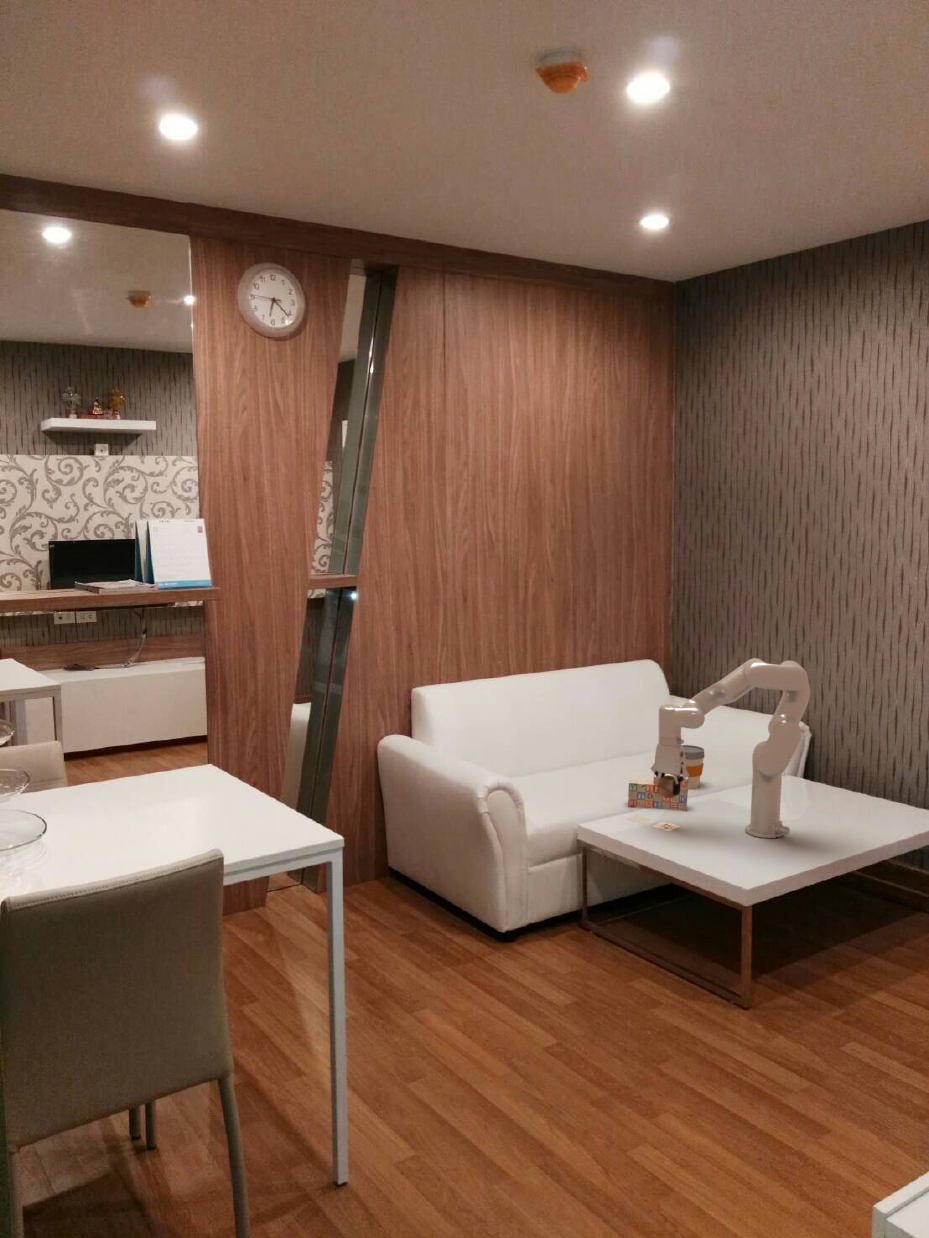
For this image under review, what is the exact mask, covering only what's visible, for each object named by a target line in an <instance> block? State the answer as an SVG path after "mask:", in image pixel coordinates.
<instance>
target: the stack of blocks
mask: <svg viewBox="0 0 929 1238" xmlns="http://www.w3.org/2000/svg"><path fill="white" fill-rule="evenodd" d="M666 775H669V776H673V775H671V774H665V776H666ZM681 776H682V774H681ZM688 793H689V789H688V777H687V778H685V779H684V780H683V781H682V782H681V783H680V795H677V796H675V797H673V798H670V797H666V796H661V795H659V780H658V779H657V777H656V775H655V774H654V773H653V779H639V778H629V779H628V795H627V797H628V801H627V806H628V807H629V808H647V809H663V810H674V811H675V810H677V811H684V812H687V811H688V809H687V808H688V807H687V805H688Z"/></svg>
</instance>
